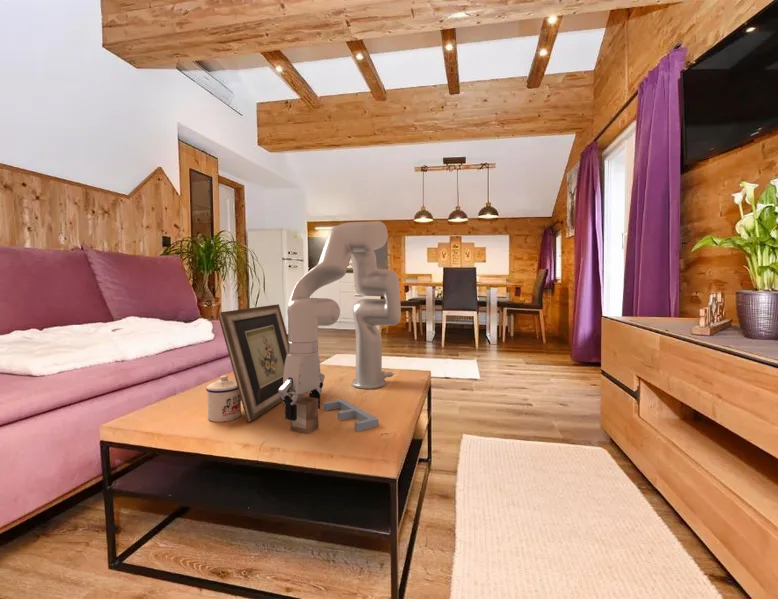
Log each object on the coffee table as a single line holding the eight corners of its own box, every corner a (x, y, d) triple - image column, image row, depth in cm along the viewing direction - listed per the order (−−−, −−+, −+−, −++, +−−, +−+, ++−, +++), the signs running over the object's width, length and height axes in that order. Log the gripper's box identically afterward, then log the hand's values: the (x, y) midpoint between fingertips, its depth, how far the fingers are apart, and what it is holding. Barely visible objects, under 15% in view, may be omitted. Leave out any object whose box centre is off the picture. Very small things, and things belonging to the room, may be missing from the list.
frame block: (300, 424, 104) (299, 395, 104) (318, 428, 102) (318, 398, 101) (289, 430, 101) (289, 399, 100) (308, 434, 98) (308, 403, 98)
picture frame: (251, 423, 105) (249, 312, 104) (218, 420, 107) (216, 311, 106) (301, 389, 137) (300, 304, 136) (275, 387, 139) (274, 304, 138)
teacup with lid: (225, 424, 104) (224, 381, 104) (199, 420, 107) (198, 378, 107) (255, 410, 116) (254, 371, 115) (230, 406, 119) (230, 369, 118)
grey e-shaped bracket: (342, 405, 120) (342, 399, 120) (378, 426, 103) (378, 418, 103) (323, 409, 116) (323, 402, 116) (357, 431, 100) (357, 424, 99)
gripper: (311, 342, 109) (311, 402, 110) (267, 351, 94) (268, 422, 94) (334, 344, 106) (334, 406, 107) (292, 354, 91) (292, 427, 91)
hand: (303, 413), depth 101 cm, fingers open, 9 cm apart
